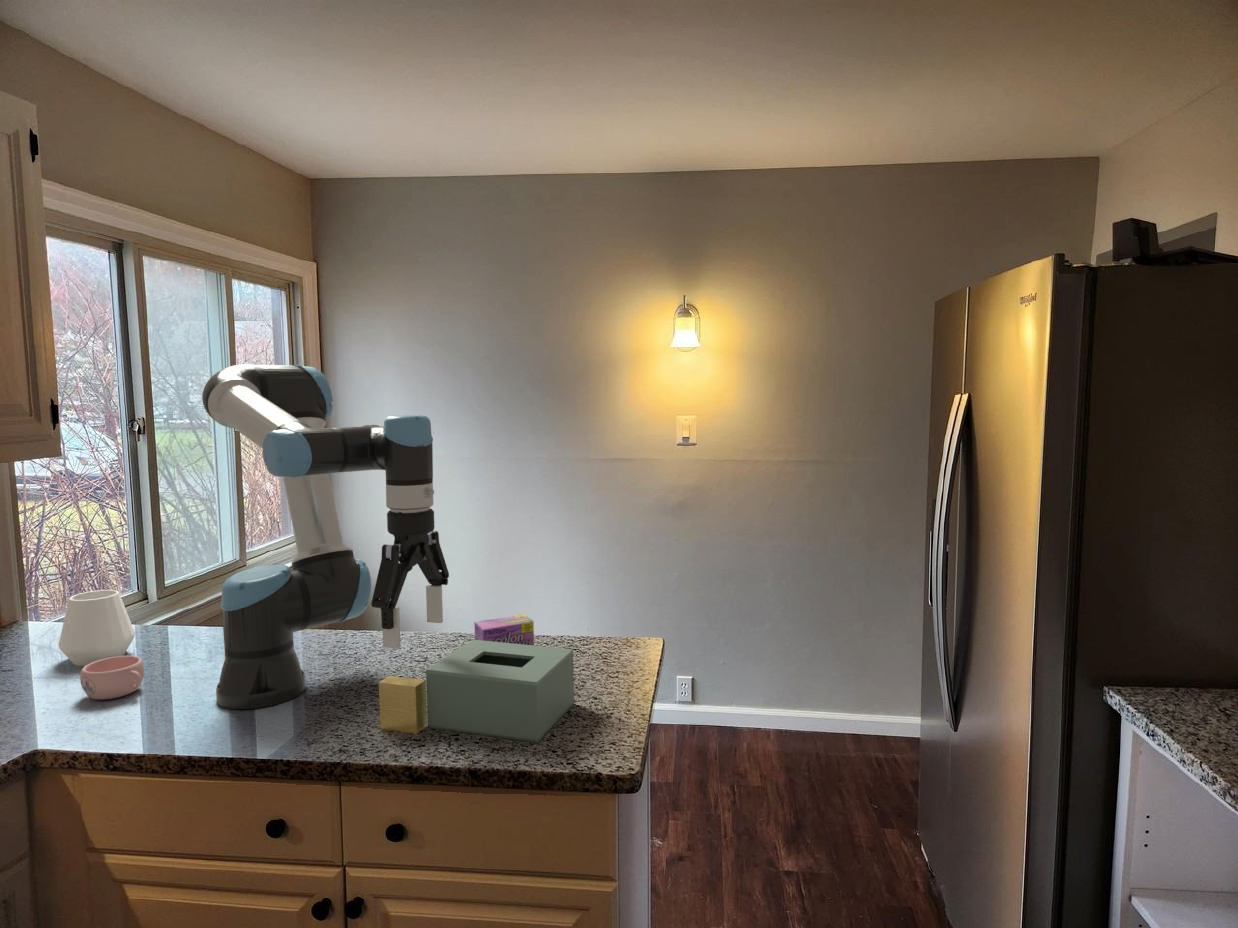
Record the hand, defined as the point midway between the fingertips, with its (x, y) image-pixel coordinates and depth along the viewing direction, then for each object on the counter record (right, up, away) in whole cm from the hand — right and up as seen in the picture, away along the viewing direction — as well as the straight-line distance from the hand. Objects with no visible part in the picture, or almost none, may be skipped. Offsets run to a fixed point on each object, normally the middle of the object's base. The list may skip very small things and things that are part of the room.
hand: (414, 634), depth 126 cm
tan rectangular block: (-2, -16, 0) cm, 16 cm away
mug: (-60, -15, +15) cm, 64 cm away
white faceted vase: (-78, -13, +35) cm, 86 cm away
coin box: (+14, -15, +4) cm, 21 cm away
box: (+12, -14, +20) cm, 28 cm away
